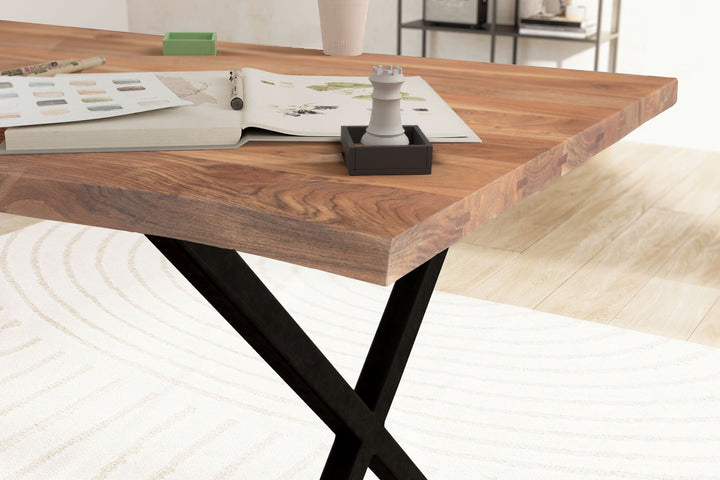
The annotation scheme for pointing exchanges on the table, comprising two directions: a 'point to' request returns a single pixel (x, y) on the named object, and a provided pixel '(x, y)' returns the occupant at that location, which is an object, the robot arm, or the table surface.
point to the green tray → (190, 44)
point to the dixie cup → (343, 26)
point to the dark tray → (386, 153)
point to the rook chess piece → (385, 108)
